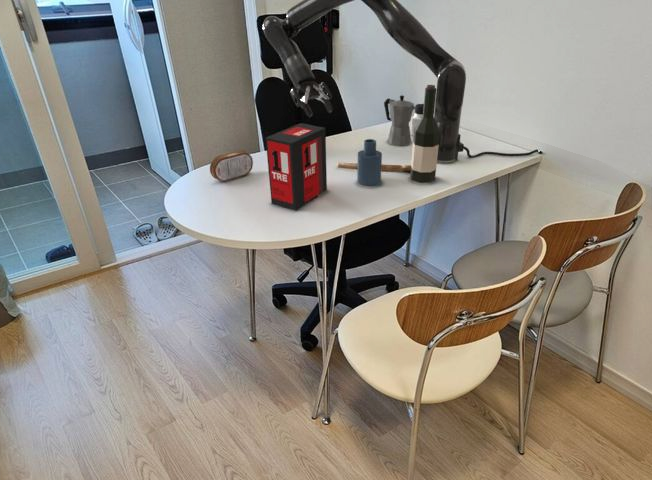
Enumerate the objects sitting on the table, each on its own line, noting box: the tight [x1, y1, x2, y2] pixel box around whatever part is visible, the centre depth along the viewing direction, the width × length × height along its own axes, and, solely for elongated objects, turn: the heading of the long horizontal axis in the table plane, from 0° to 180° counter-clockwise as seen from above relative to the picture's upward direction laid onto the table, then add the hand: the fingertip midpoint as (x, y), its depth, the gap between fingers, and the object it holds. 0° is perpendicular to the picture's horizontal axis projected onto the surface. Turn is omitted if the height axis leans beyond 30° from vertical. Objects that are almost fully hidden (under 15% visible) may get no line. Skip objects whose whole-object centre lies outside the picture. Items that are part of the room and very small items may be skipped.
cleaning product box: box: [265, 122, 328, 211], centre depth 146 cm, size 16×9×20 cm, turn 150°
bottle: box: [356, 138, 383, 187], centre depth 158 cm, size 8×8×14 cm
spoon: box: [336, 162, 411, 172], centre depth 170 cm, size 2×5×28 cm
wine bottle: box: [409, 84, 440, 184], centre depth 156 cm, size 8×8×30 cm
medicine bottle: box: [410, 102, 424, 137], centre depth 203 cm, size 7×7×12 cm
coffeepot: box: [383, 94, 416, 147], centre depth 192 cm, size 15×9×18 cm, turn 44°
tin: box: [209, 149, 254, 182], centre depth 161 cm, size 15×3×8 cm, turn 135°
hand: (321, 113), depth 167 cm, fingers open, 8 cm apart
